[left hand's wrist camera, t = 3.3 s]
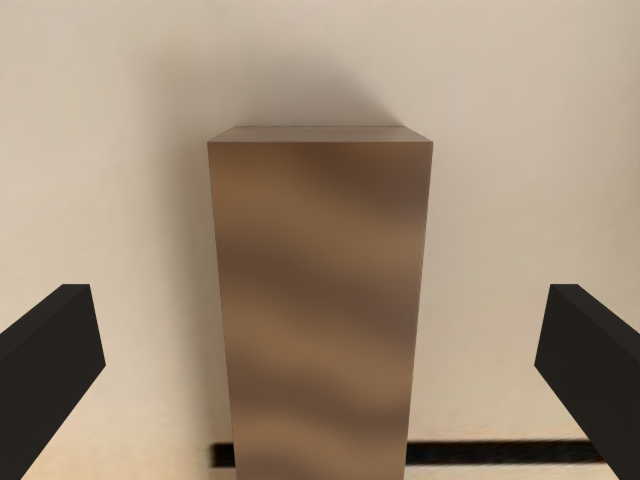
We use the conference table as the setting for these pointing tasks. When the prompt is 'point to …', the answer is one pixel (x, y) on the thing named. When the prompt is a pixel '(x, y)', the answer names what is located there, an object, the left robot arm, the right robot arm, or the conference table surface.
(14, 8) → the conference table surface
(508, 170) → the conference table surface
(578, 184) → the conference table surface
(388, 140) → the slab
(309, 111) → the conference table surface
